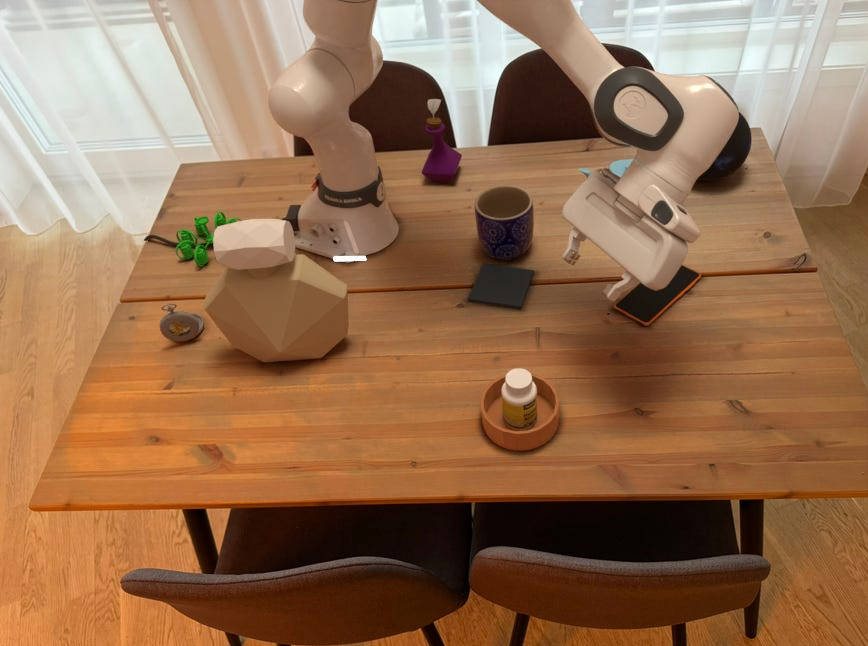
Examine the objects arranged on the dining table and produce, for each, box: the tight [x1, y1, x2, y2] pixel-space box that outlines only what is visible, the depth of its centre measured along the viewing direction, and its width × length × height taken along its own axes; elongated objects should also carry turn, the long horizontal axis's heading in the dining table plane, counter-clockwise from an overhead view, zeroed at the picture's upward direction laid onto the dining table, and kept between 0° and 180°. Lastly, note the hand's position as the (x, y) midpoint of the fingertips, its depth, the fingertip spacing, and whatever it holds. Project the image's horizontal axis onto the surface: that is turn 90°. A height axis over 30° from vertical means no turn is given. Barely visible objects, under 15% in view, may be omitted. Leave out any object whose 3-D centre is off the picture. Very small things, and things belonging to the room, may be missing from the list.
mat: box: [467, 263, 535, 310], centre depth 139 cm, size 10×10×1 cm
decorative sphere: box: [697, 111, 753, 182], centre depth 151 cm, size 15×15×15 cm
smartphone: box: [613, 264, 702, 327], centre depth 134 cm, size 8×17×1 cm, turn 135°
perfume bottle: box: [421, 98, 463, 183], centre depth 158 cm, size 8×8×18 cm
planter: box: [474, 184, 535, 261], centre depth 142 cm, size 11×11×11 cm
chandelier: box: [175, 211, 243, 267], centre depth 153 cm, size 15×15×7 cm
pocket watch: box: [159, 303, 205, 342], centre depth 135 cm, size 7×8×10 cm
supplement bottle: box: [501, 367, 537, 430], centre depth 114 cm, size 5×5×10 cm
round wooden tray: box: [480, 372, 560, 452], centre depth 117 cm, size 12×12×4 cm
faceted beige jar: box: [202, 218, 349, 363], centre depth 123 cm, size 12×24×28 cm, turn 91°
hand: (586, 279), depth 106 cm, fingers open, 8 cm apart
